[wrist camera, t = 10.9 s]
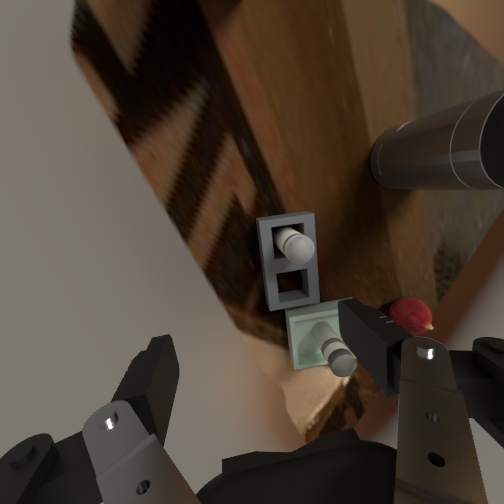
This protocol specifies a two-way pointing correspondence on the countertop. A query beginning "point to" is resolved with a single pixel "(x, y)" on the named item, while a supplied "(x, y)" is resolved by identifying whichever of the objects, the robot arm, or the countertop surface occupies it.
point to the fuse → (293, 244)
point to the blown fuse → (333, 349)
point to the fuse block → (287, 262)
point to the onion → (411, 315)
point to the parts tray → (309, 332)
